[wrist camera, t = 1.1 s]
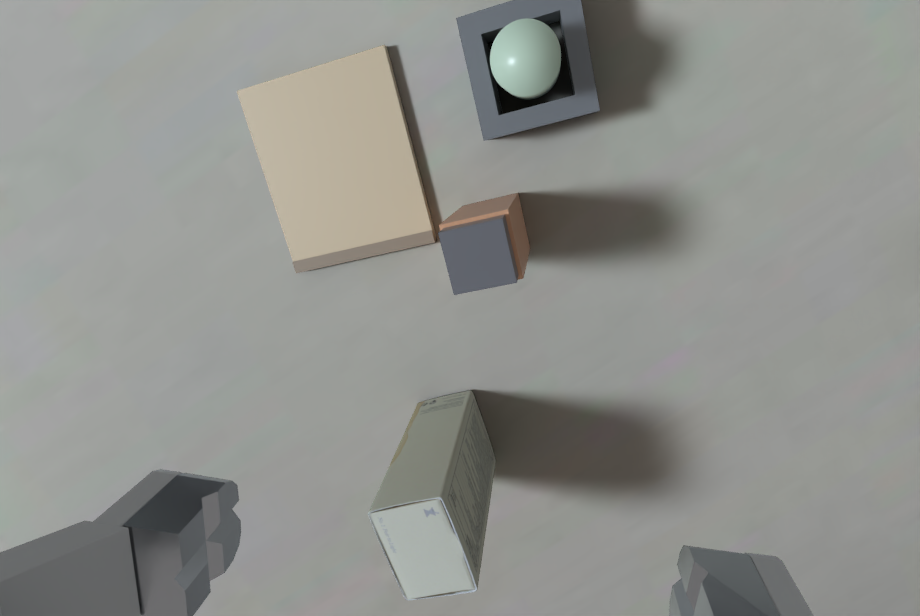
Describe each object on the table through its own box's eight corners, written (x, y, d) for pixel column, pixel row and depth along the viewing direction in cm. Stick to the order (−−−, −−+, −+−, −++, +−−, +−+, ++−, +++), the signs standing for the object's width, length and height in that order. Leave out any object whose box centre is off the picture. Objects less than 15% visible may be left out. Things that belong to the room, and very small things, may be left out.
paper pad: (386, 46, 33) (383, 44, 33) (437, 240, 36) (434, 242, 36) (241, 91, 36) (235, 90, 35) (300, 270, 39) (296, 273, 38)
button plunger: (553, 24, 30) (553, 8, 26) (566, 90, 31) (567, 84, 27) (492, 42, 31) (482, 30, 27) (505, 106, 31) (498, 103, 28)
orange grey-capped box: (518, 192, 35) (505, 213, 26) (530, 248, 36) (521, 285, 27) (462, 205, 36) (432, 229, 27) (476, 259, 36) (451, 299, 28)
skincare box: (417, 400, 40) (361, 507, 29) (475, 387, 39) (441, 493, 28) (444, 474, 42) (402, 604, 30) (501, 463, 41) (479, 594, 29)
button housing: (575, -7, 31) (577, -21, 28) (596, 112, 33) (599, 110, 30) (465, 27, 32) (456, 18, 30) (490, 139, 34) (483, 140, 31)
